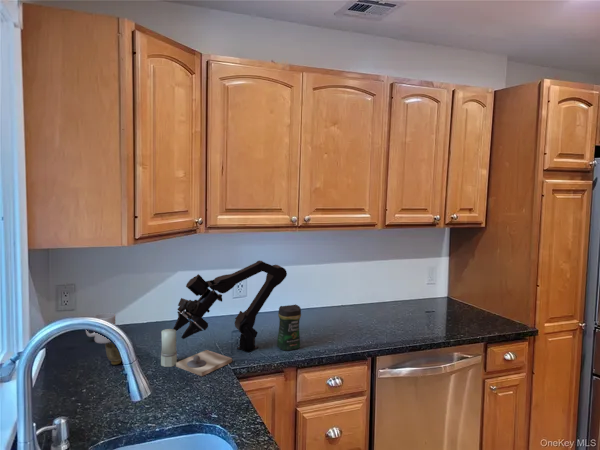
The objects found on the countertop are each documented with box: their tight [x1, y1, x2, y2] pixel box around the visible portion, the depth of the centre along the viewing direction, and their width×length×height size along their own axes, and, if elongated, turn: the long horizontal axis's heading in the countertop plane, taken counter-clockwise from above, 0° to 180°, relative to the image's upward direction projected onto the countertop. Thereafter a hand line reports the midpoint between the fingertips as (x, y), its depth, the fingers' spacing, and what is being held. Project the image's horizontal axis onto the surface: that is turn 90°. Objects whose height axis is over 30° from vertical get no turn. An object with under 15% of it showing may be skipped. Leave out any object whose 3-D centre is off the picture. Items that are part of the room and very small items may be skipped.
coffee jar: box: [276, 304, 302, 351], centre depth 190 cm, size 10×8×19 cm
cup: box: [104, 342, 122, 366], centre depth 169 cm, size 8×7×8 cm
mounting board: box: [175, 349, 233, 377], centre depth 171 cm, size 16×14×5 cm
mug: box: [85, 312, 116, 344], centre depth 192 cm, size 12×8×11 cm
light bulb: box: [160, 328, 178, 368], centre depth 170 cm, size 6×6×13 cm
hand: (177, 334), depth 172 cm, fingers open, 9 cm apart
